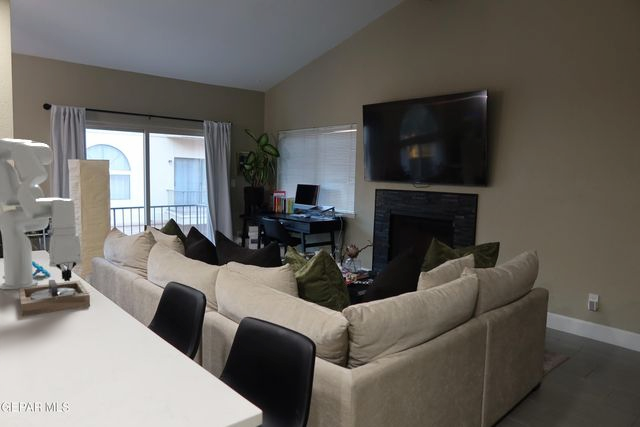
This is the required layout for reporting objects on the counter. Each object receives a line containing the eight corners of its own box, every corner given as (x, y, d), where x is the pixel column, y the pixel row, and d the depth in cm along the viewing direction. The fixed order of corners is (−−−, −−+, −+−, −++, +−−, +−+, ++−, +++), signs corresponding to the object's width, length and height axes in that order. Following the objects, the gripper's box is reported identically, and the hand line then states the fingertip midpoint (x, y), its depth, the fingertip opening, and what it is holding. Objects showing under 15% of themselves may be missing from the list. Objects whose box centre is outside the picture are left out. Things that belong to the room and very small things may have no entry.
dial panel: (19, 298, 163) (18, 287, 163) (80, 290, 175) (79, 279, 174) (22, 315, 144) (21, 303, 143) (90, 305, 156) (90, 294, 155)
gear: (50, 274, 192) (30, 260, 189) (39, 285, 190) (19, 270, 187) (53, 273, 202) (34, 258, 199) (42, 283, 200) (23, 268, 197)
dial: (29, 295, 161) (28, 281, 160) (72, 289, 169) (72, 276, 168) (31, 305, 149) (31, 290, 149) (78, 298, 158) (77, 284, 157)
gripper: (41, 234, 155) (44, 285, 157) (88, 231, 164) (90, 279, 166) (39, 232, 161) (42, 281, 163) (85, 229, 170) (87, 275, 172)
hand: (66, 280), depth 164 cm, fingers closed
